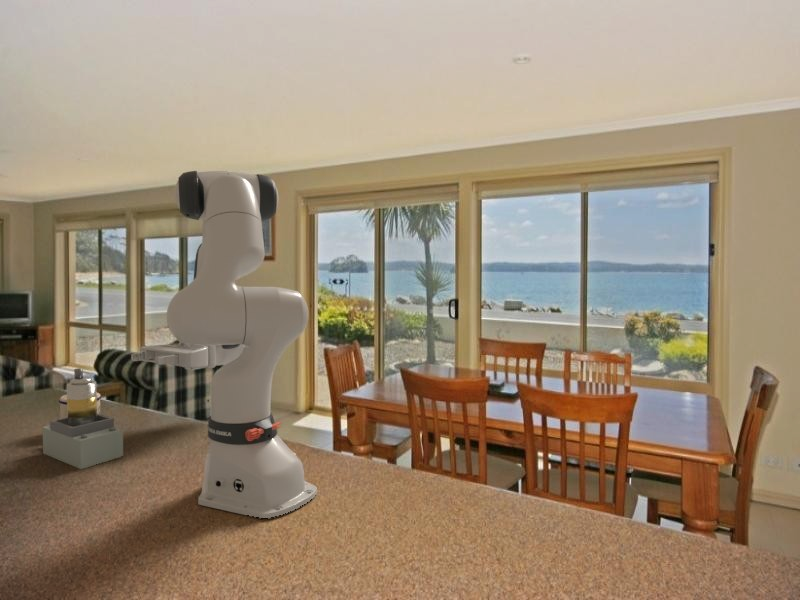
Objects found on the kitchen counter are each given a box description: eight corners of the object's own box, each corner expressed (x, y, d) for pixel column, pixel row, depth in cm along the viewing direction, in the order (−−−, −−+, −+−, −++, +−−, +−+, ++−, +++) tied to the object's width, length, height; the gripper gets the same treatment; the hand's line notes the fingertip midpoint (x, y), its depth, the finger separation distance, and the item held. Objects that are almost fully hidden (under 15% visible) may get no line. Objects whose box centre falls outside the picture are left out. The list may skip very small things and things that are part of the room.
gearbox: (123, 456, 117) (122, 421, 117) (81, 469, 110) (80, 431, 109) (76, 439, 128) (75, 406, 127) (34, 449, 120) (33, 415, 120)
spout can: (102, 426, 118) (101, 369, 117) (76, 433, 113) (74, 373, 112) (89, 422, 121) (87, 366, 120) (62, 428, 116) (60, 370, 115)
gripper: (168, 338, 144) (119, 343, 132) (219, 343, 133) (170, 349, 122) (169, 361, 144) (119, 368, 133) (219, 368, 134) (170, 376, 122)
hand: (144, 359), depth 127 cm, fingers open, 8 cm apart
